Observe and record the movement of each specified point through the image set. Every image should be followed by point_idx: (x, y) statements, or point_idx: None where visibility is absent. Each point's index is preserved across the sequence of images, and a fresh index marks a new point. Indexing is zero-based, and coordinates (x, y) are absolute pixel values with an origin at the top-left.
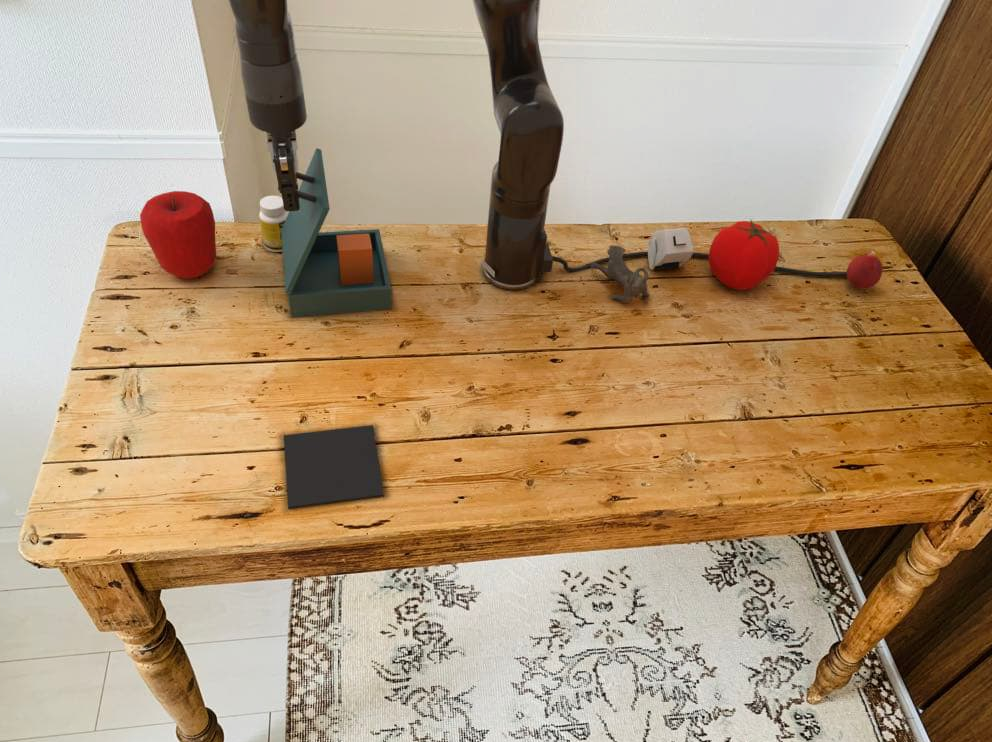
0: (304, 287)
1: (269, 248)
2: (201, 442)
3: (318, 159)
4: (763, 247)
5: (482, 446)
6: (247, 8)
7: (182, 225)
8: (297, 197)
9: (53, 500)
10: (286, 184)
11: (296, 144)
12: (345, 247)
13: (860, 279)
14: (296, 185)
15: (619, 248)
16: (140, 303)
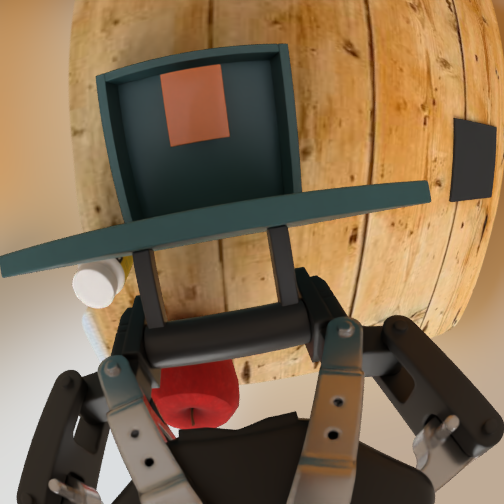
0: (229, 192)
1: None
2: (434, 266)
3: (61, 261)
4: None
5: (466, 32)
6: None
7: (231, 398)
8: (318, 294)
9: (436, 331)
10: (398, 365)
11: (350, 494)
12: (218, 121)
13: None
14: (427, 337)
15: None
16: (255, 359)
